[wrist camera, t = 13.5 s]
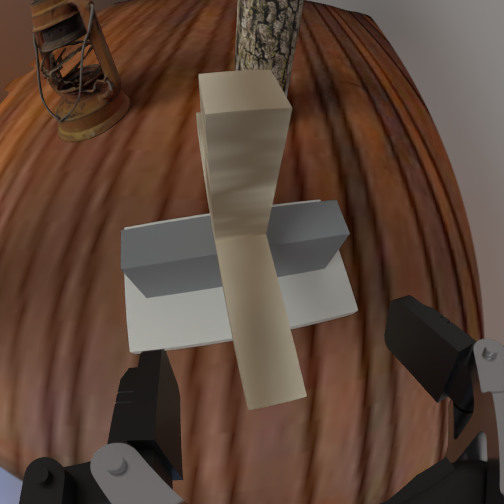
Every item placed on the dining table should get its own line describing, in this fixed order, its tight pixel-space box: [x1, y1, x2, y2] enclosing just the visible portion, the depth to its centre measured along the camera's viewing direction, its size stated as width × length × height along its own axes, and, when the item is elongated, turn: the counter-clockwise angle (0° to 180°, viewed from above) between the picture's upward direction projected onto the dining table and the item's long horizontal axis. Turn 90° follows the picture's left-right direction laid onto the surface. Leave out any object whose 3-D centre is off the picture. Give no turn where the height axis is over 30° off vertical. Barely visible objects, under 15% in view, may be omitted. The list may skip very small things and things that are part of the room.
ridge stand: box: [121, 200, 358, 354], centre depth 23 cm, size 20×12×8 cm, turn 102°
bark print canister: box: [235, 0, 304, 97], centre depth 25 cm, size 7×7×25 cm
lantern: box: [30, 0, 130, 142], centre depth 23 cm, size 17×13×30 cm
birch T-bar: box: [196, 70, 307, 410], centre depth 14 cm, size 3×22×11 cm, turn 12°
